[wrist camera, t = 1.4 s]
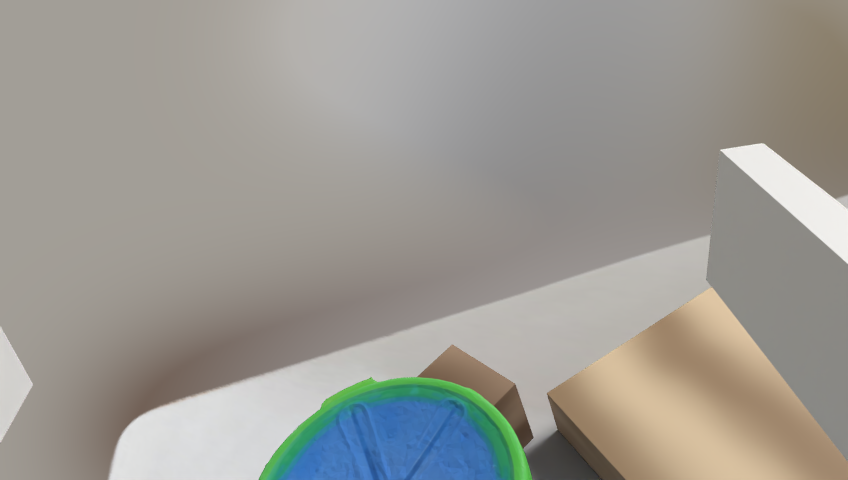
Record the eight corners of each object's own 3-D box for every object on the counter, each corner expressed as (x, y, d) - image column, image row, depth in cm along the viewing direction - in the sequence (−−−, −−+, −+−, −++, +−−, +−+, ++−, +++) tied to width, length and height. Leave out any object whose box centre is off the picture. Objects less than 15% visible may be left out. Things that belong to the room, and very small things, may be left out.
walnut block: (473, 397, 39) (452, 344, 37) (533, 438, 36) (515, 384, 33) (416, 453, 37) (389, 402, 35) (473, 502, 34) (449, 450, 32)
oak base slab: (764, 292, 39) (764, 252, 37) (1051, 474, 28) (1071, 429, 26) (557, 429, 36) (546, 393, 34) (786, 689, 25) (788, 657, 23)
